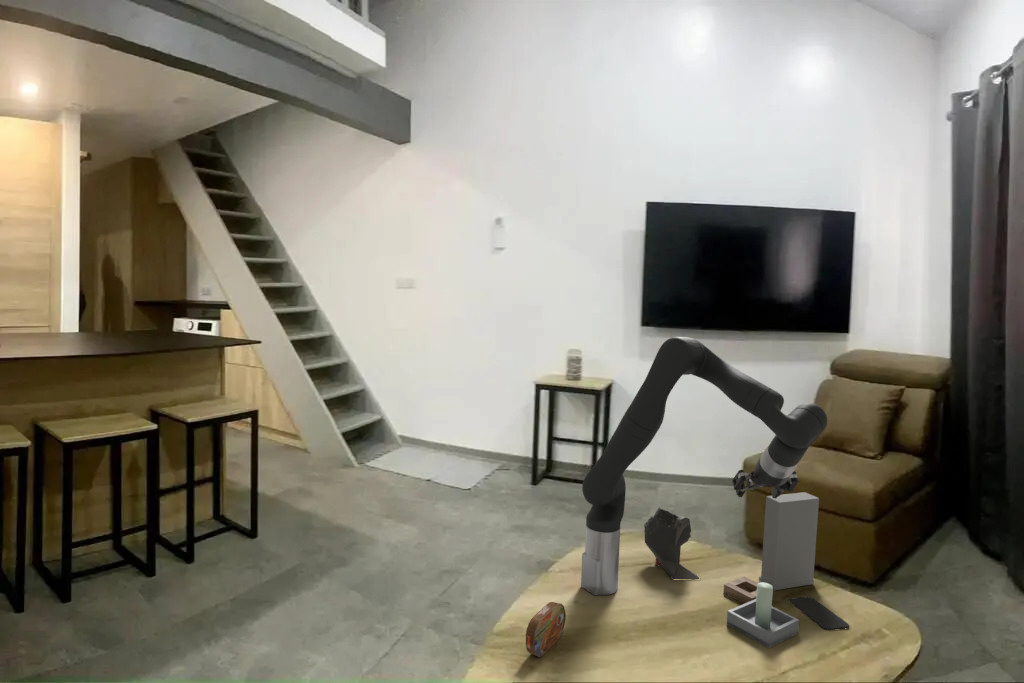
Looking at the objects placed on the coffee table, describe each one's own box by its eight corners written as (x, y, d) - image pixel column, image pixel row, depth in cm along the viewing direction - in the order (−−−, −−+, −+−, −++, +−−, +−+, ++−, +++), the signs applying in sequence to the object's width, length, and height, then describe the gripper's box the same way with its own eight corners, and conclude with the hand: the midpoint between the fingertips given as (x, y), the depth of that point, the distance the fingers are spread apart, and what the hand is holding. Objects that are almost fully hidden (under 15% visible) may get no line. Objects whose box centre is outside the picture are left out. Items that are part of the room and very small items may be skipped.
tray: (769, 648, 141) (769, 633, 141) (726, 624, 151) (727, 610, 151) (798, 633, 148) (799, 619, 147) (755, 611, 157) (756, 598, 157)
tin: (534, 664, 134) (535, 627, 133) (522, 659, 135) (523, 622, 134) (566, 632, 146) (567, 598, 145) (554, 628, 148) (555, 594, 147)
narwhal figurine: (683, 556, 189) (686, 499, 187) (701, 580, 174) (705, 518, 172) (637, 556, 188) (640, 499, 186) (652, 580, 173) (654, 518, 171)
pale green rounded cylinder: (764, 630, 147) (767, 591, 146) (751, 623, 150) (754, 584, 149) (773, 626, 149) (775, 587, 148) (760, 619, 152) (762, 581, 151)
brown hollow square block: (751, 607, 159) (752, 598, 159) (723, 593, 167) (724, 584, 166) (771, 598, 164) (772, 589, 164) (743, 585, 171) (744, 576, 171)
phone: (811, 596, 165) (851, 626, 151) (811, 599, 165) (851, 629, 151) (786, 598, 164) (824, 628, 149) (786, 601, 164) (824, 632, 149)
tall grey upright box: (797, 574, 178) (803, 491, 176) (813, 584, 173) (819, 498, 170) (758, 581, 174) (763, 495, 172) (773, 591, 168) (779, 502, 166)
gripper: (803, 449, 145) (780, 481, 157) (743, 448, 145) (724, 479, 158) (812, 478, 140) (788, 509, 153) (749, 476, 140) (730, 507, 153)
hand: (756, 494), depth 155 cm, fingers open, 8 cm apart
